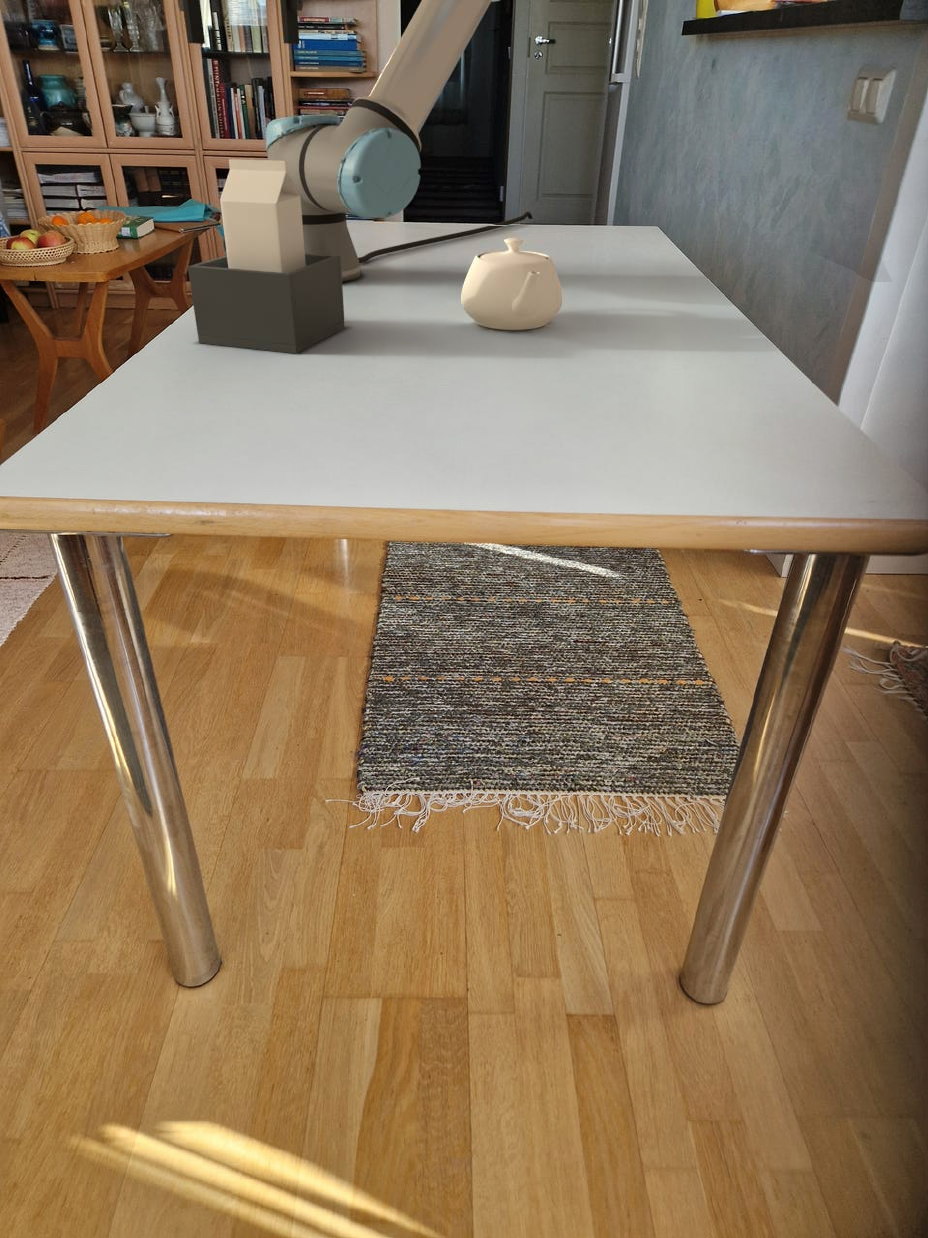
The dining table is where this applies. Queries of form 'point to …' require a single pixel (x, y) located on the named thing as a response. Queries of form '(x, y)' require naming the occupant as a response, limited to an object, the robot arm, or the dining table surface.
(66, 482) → the dining table surface
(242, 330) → the waste bin
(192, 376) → the dining table surface
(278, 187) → the milk carton
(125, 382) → the dining table surface
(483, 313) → the teapot
